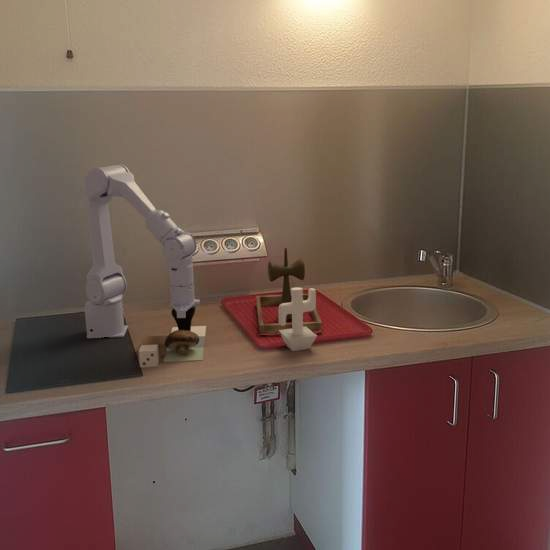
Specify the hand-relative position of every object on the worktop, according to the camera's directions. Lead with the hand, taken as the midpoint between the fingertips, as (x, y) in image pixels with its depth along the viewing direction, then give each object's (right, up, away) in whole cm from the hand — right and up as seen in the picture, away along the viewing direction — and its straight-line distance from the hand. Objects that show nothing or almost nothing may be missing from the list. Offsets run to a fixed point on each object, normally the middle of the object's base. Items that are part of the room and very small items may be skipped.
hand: (185, 336), depth 169 cm
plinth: (-7, -3, -2) cm, 8 cm away
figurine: (+28, -3, -1) cm, 28 cm away
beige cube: (-7, -3, -8) cm, 11 cm away
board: (0, -2, +3) cm, 4 cm away
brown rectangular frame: (+25, +3, +20) cm, 32 cm away
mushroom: (0, -4, -3) cm, 5 cm away
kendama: (+25, +3, +20) cm, 32 cm away
